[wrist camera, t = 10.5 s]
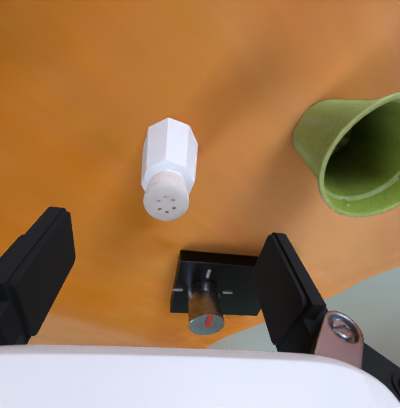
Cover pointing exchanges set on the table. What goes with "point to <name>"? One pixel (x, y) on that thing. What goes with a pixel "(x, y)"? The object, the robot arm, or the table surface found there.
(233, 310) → the black knob panel
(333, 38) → the table surface
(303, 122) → the plant pot
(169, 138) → the pepper shaker
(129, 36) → the table surface
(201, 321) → the hob knob
